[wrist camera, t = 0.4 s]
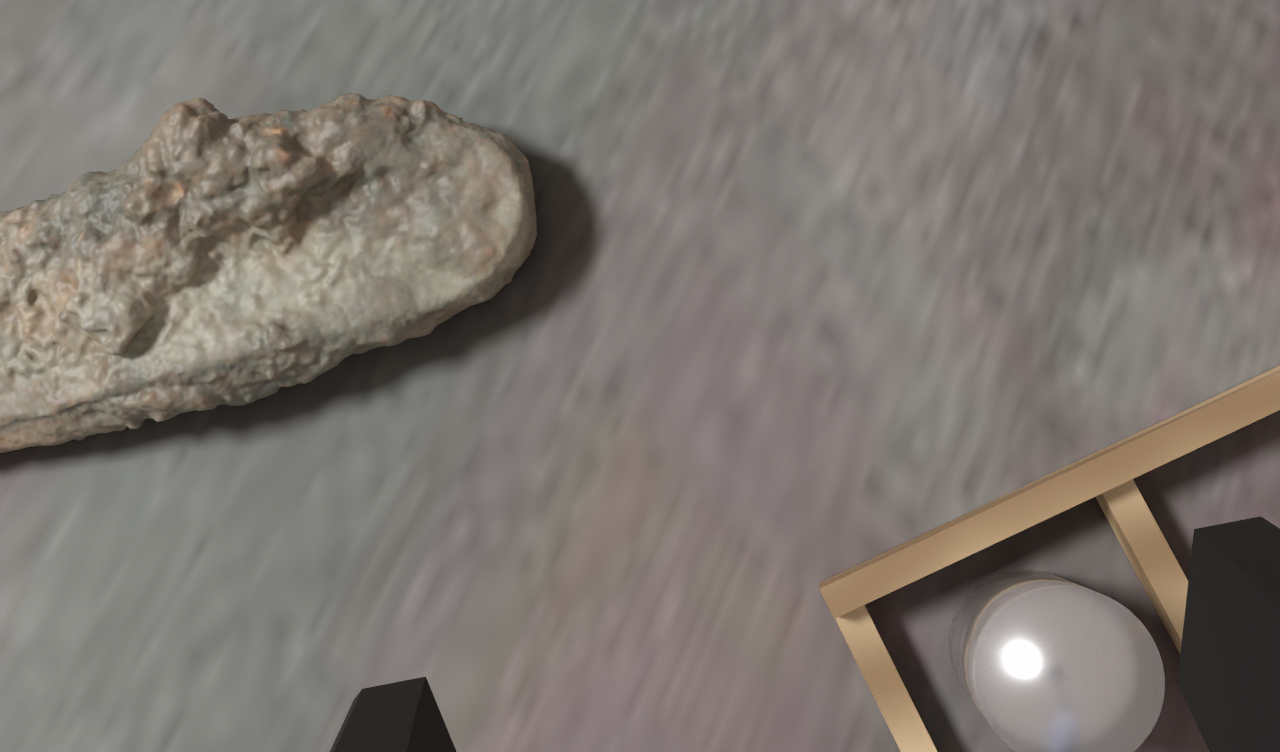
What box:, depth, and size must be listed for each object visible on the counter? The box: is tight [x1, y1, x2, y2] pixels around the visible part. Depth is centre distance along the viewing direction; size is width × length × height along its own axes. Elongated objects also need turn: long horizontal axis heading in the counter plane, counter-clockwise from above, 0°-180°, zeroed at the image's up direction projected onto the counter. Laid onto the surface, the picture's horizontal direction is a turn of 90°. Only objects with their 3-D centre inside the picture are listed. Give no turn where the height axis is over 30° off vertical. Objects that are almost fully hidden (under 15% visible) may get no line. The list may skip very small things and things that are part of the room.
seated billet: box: [949, 569, 1165, 752], centre depth 34 cm, size 5×5×6 cm
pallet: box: [819, 366, 1280, 752], centre depth 35 cm, size 8×19×2 cm, turn 116°
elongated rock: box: [0, 93, 537, 453], centre depth 41 cm, size 35×5×10 cm
